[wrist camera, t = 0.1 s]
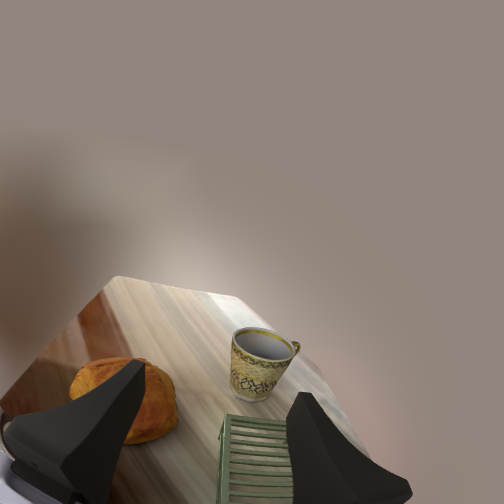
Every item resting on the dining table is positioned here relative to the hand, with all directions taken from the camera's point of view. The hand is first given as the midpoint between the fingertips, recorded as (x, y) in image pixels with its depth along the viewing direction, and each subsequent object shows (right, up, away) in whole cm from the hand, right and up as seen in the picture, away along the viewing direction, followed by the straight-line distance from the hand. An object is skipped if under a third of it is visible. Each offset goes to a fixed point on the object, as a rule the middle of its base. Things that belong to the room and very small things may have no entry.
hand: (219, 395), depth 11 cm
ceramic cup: (+2, -17, +32) cm, 36 cm away
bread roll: (-16, -15, +19) cm, 29 cm away
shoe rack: (+2, -21, +12) cm, 24 cm away
